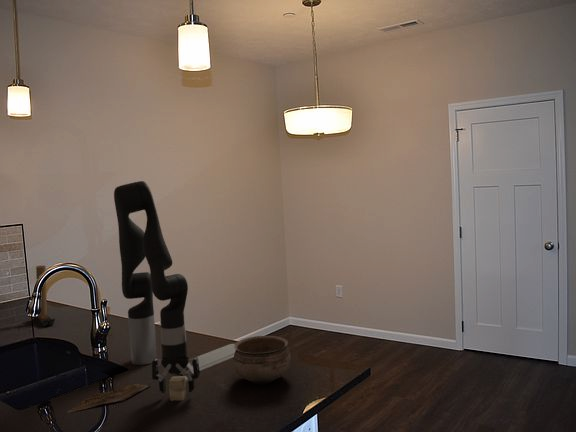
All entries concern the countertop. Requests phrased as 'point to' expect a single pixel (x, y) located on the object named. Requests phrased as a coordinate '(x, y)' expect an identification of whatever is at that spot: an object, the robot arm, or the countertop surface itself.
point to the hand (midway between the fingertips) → (177, 391)
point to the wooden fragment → (109, 397)
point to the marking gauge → (177, 387)
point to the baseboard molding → (214, 357)
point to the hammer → (43, 303)
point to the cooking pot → (261, 358)
